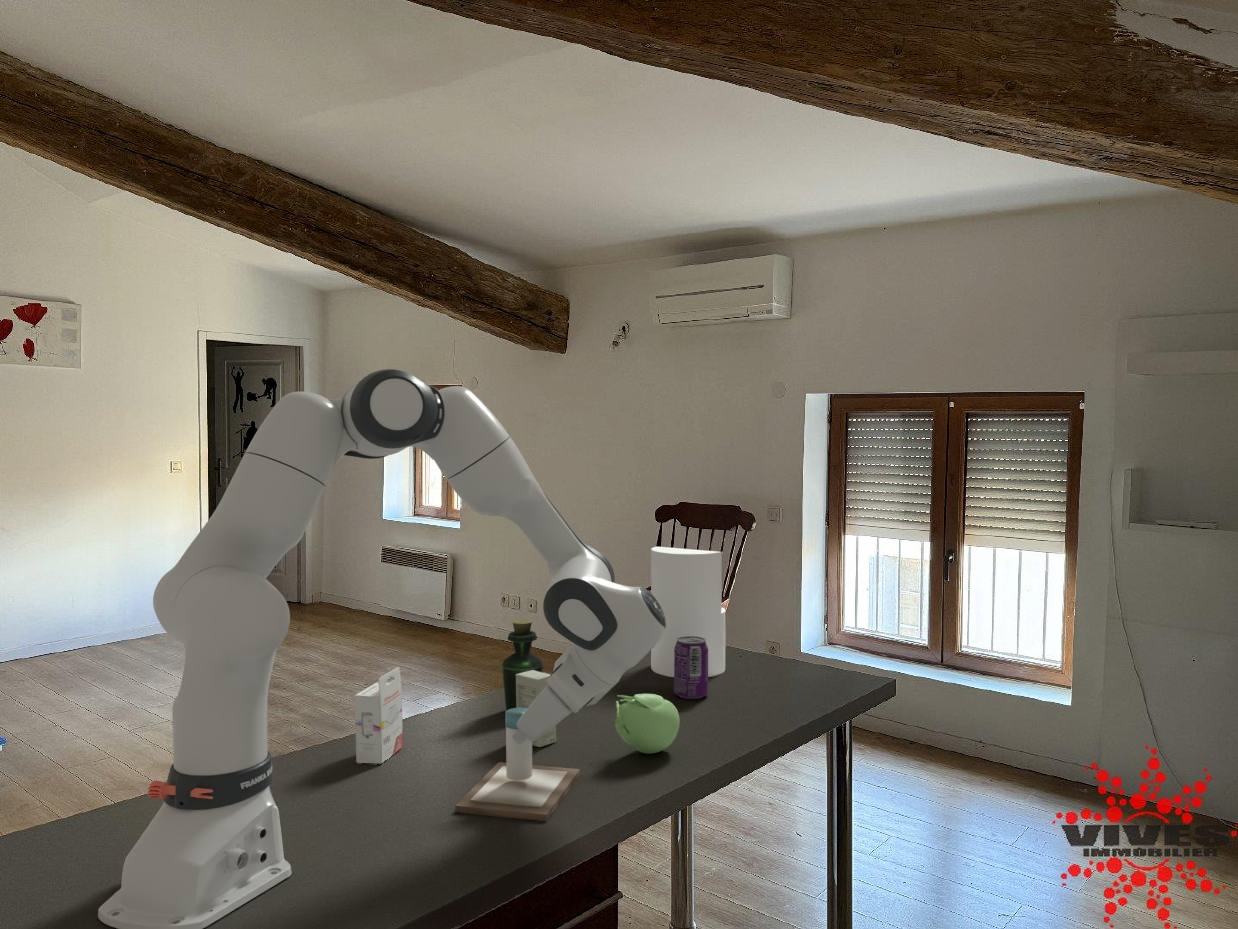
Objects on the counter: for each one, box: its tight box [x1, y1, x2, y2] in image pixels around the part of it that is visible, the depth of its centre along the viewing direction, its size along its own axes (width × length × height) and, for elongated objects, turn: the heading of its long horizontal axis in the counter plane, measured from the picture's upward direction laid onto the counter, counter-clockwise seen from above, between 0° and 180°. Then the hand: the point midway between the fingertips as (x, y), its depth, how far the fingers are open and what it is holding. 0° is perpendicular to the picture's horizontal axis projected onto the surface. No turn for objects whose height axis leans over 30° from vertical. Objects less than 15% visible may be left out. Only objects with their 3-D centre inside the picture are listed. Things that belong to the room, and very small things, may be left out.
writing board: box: [454, 761, 581, 822], centre depth 143 cm, size 18×14×1 cm
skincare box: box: [516, 670, 557, 748], centre depth 167 cm, size 6×4×12 cm
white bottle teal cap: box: [504, 708, 533, 780], centre depth 144 cm, size 4×4×10 cm
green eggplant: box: [614, 693, 680, 755], centre depth 160 cm, size 12×11×11 cm
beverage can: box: [673, 636, 709, 700], centre depth 195 cm, size 7×7×12 cm
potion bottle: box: [501, 619, 544, 712], centre depth 184 cm, size 8×8×18 cm
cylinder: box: [650, 546, 726, 678], centre depth 217 cm, size 17×17×28 cm
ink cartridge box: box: [353, 666, 404, 764], centre depth 159 cm, size 9×5×15 cm, turn 168°
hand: (522, 733), depth 144 cm, fingers closed on white bottle teal cap, 4 cm apart
